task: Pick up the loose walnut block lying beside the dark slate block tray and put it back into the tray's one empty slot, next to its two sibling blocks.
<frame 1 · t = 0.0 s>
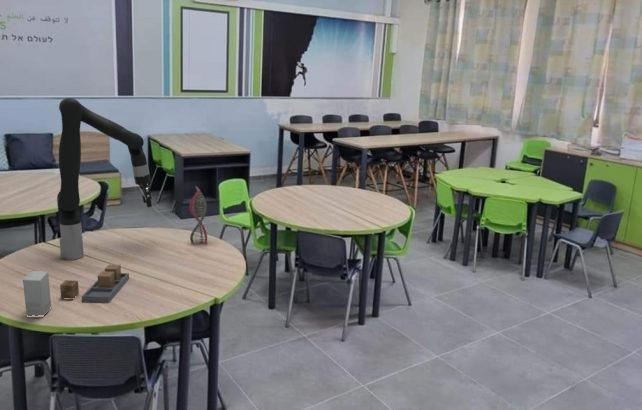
hand: (147, 204, 276), 22 cm above the table, tool pointing down, fingers open, 8 cm apart
tray: (106, 289, 231), on the table
dna model: (198, 243, 289), on the table
block: (70, 296, 223), on the table
skincare box: (39, 313, 209), on the table
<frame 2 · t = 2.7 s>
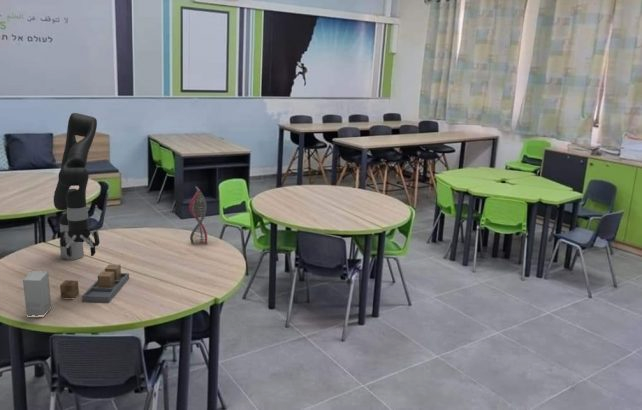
hand: (81, 255, 222), 17 cm above the table, tool pointing down, fingers open, 8 cm apart
nothing on the table moved.
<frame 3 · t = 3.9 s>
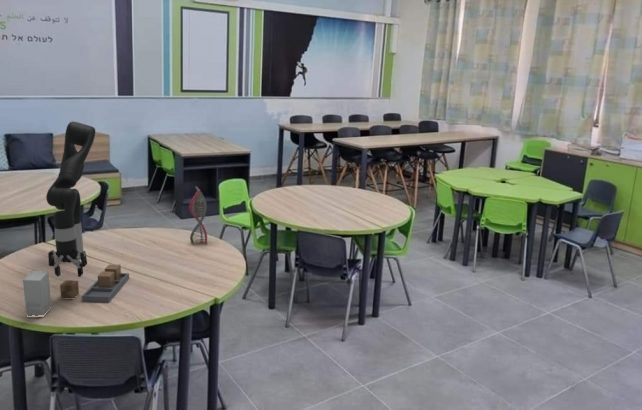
hand: (69, 275, 221), 9 cm above the table, tool pointing down, fingers open, 8 cm apart
nothing on the table moved.
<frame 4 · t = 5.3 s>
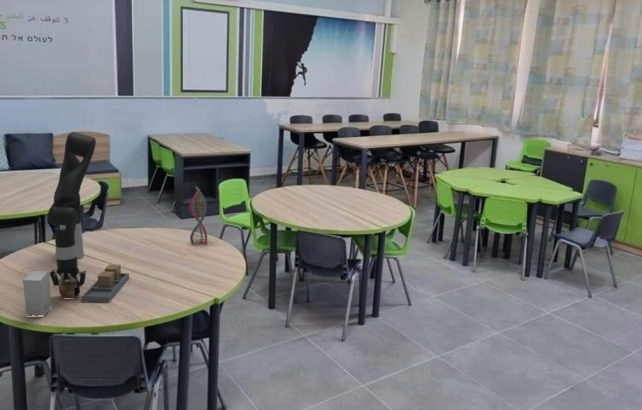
hand: (70, 294, 223), 1 cm above the table, tool pointing down, fingers closed on block, 5 cm apart
block: (70, 296, 223), on the table, touching gripper
everything else where it was.
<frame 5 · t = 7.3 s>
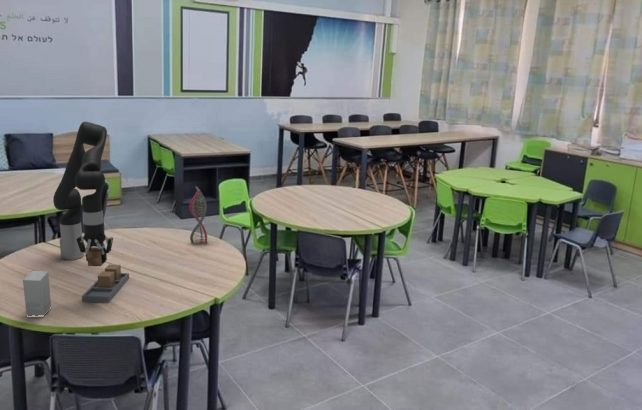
hand: (96, 262, 219), 15 cm above the table, tool pointing down, fingers closed on block, 5 cm apart
block: (96, 263, 219), point 15 cm above the table, touching gripper
everything else where it was.
when the fingers open (3 cm above the table, at t = 9.4 s): block drops 1 cm, resting on tray.
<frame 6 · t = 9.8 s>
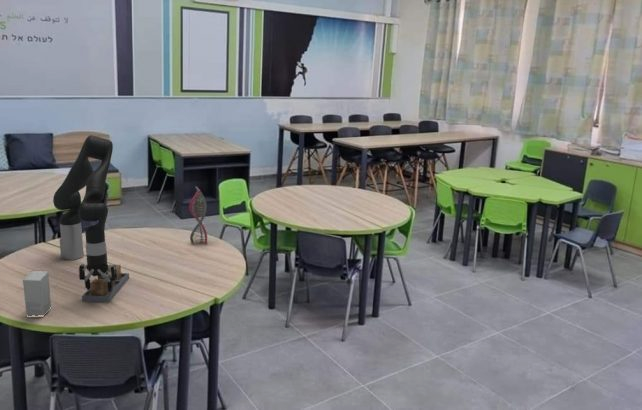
hand: (99, 289, 223), 4 cm above the table, tool pointing down, fingers open, 8 cm apart
block: (99, 295, 223), point 1 cm above the table, touching tray
everything else where it was.
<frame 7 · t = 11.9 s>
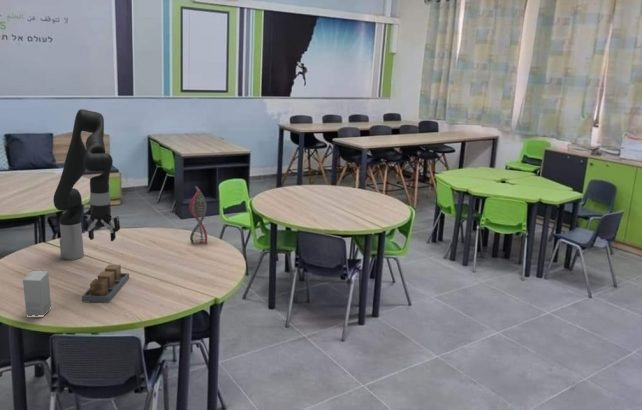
hand: (102, 239, 226), 22 cm above the table, tool pointing down, fingers open, 8 cm apart
nothing on the table moved.
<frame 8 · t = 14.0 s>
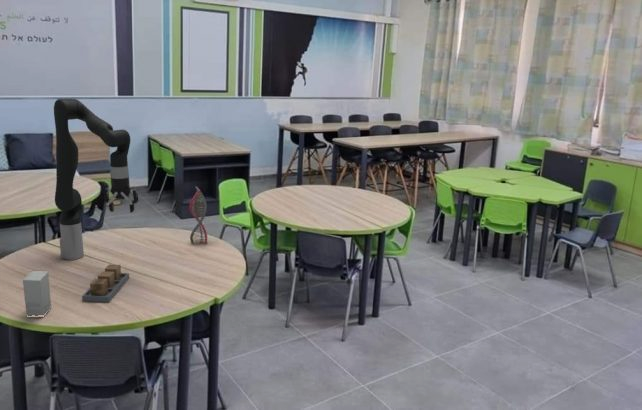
hand: (121, 211, 243), 28 cm above the table, tool pointing down, fingers open, 8 cm apart
nothing on the table moved.
at the end: block 0.0 cm from the target spot on the tray, point 1.0 cm above the tray's base; block tilted 0°; the gripper is holding nothing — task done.
